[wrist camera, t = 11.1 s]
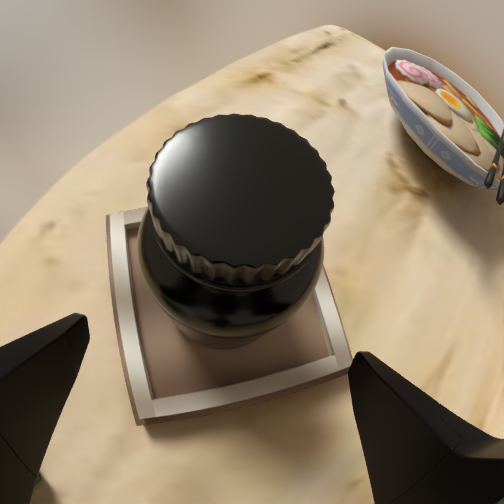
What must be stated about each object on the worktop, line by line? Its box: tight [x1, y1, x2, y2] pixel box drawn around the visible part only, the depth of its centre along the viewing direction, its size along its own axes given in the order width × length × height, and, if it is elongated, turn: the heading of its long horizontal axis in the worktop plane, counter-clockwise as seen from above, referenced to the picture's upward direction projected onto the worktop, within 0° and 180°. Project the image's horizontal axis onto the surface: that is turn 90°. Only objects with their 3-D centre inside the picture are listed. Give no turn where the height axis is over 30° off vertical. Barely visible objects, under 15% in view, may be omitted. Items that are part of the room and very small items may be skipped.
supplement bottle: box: [137, 114, 335, 350], centre depth 13 cm, size 7×7×12 cm
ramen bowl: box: [383, 47, 504, 205], centre depth 27 cm, size 25×23×8 cm
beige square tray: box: [106, 207, 353, 426], centre depth 18 cm, size 14×14×2 cm
